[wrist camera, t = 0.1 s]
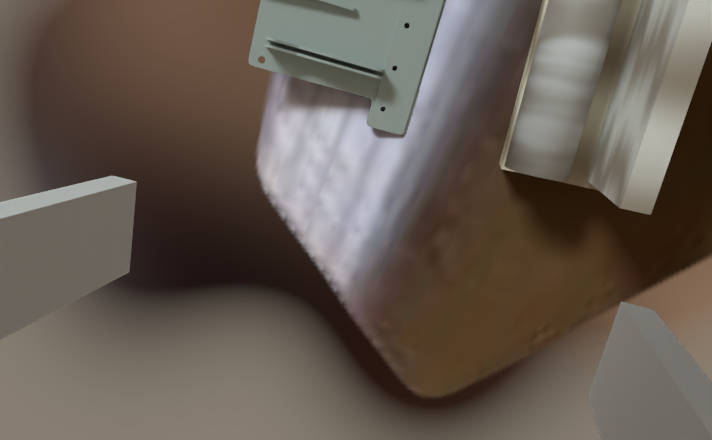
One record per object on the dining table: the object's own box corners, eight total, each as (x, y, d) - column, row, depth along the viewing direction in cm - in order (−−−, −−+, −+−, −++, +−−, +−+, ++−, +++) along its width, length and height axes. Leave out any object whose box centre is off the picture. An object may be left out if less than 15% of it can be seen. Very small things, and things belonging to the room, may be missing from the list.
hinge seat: (566, -92, 35) (609, -178, 24) (680, -76, 34) (781, -158, 23) (499, 163, 40) (508, 193, 29) (597, 184, 39) (647, 224, 28)
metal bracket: (225, 90, 38) (274, -153, 33) (237, 84, 43) (281, -125, 39) (423, 144, 40) (493, -80, 35) (410, 131, 45) (469, -63, 41)
